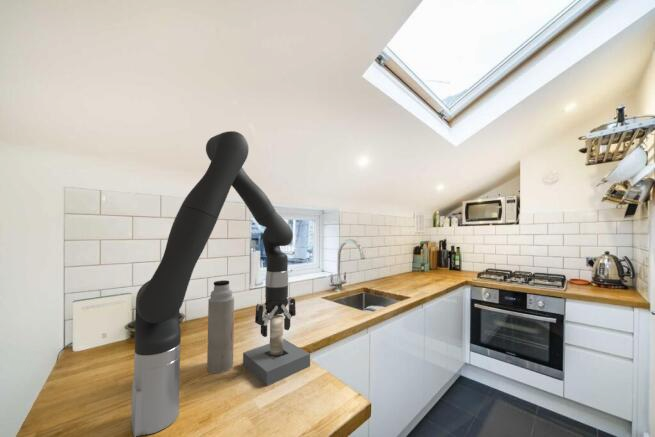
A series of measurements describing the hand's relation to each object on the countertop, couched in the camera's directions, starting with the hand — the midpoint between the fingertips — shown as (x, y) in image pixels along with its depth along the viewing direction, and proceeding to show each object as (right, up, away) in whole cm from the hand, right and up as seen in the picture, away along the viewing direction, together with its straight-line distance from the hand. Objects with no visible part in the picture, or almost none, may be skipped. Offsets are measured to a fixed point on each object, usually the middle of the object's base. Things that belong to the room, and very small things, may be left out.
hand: (276, 332), depth 86 cm
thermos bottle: (-18, -11, -1) cm, 21 cm away
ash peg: (0, -11, -1) cm, 11 cm away
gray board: (0, -11, -1) cm, 11 cm away
